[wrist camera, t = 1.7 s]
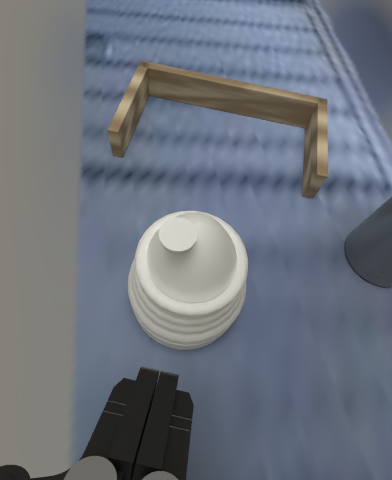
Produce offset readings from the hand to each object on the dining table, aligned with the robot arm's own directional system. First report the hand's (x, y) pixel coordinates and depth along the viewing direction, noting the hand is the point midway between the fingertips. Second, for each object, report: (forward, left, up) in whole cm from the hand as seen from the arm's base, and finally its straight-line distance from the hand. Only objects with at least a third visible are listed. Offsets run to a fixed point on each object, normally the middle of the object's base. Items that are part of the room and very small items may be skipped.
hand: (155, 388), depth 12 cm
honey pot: (-8, -8, -23) cm, 25 cm away
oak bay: (-27, -27, -22) cm, 44 cm away
